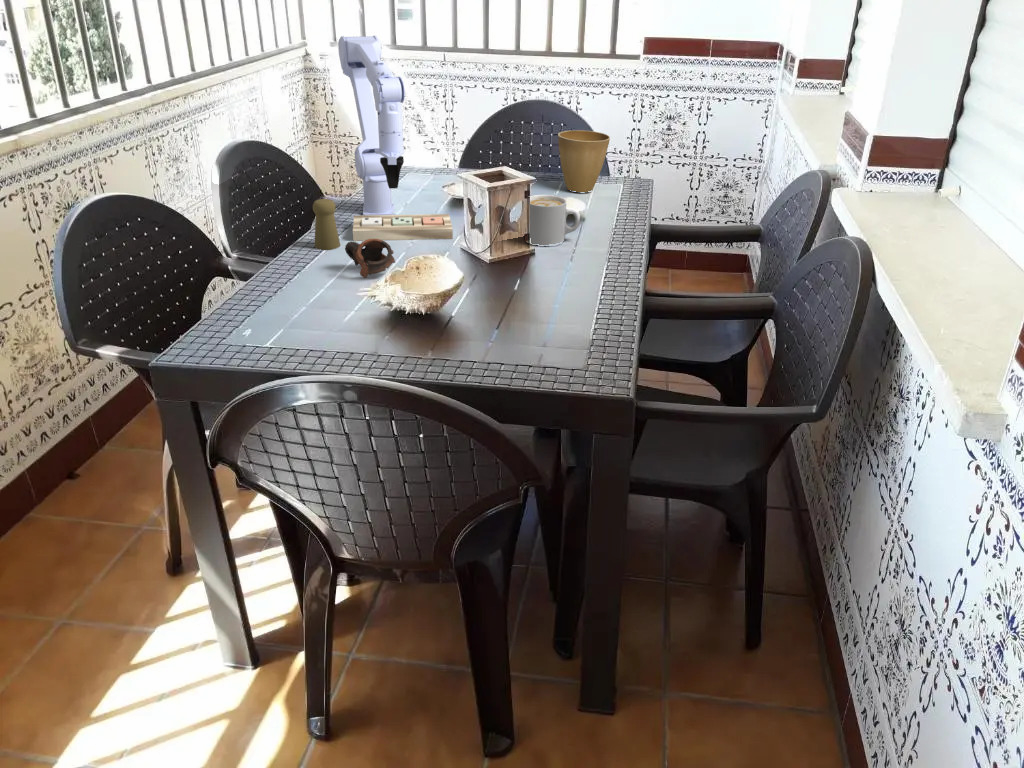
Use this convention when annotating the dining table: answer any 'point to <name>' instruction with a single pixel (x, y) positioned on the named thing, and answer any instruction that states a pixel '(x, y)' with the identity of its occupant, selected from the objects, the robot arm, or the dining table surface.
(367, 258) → the pottery mug
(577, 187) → the plant pot
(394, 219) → the three dot key
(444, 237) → the wooden puzzle board
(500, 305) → the dining table surface
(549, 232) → the coffee mug
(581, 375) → the dining table surface
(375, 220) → the two dot key
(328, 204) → the cork
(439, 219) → the one dot key
